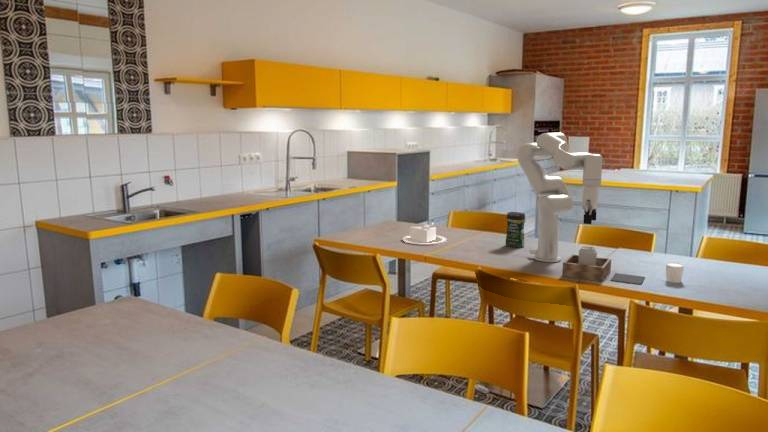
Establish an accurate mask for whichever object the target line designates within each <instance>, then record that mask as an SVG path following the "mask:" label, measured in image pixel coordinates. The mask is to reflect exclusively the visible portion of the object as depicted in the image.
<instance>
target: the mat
mask: <svg viewBox="0 0 768 432" xmlns="http://www.w3.org/2000/svg"><path fill="white" fill-rule="evenodd" d="M645 279H646V277H645V276H643V275H632V274H626V273H617V272H615V273H614V274H613V276H612V277H611V279H610V281H611V282H616V283H617V282H618V283H625V284H631V283H632V285H638V286H639V285H640V286H641V285H642V284H643V283H644V280H645Z"/></svg>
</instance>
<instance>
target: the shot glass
mask: <svg viewBox="0 0 768 432" xmlns="http://www.w3.org/2000/svg"><path fill="white" fill-rule="evenodd" d="M684 267H685V265H684V264H681V263H676V262H667V263H665V274H666V276H665V277H666V278H665V280H666V281H667V282H669V283H674V284H676V283H677V284H678V283H681V282H682V277H683V275H684V274H683V273H684Z"/></svg>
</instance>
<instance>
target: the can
mask: <svg viewBox="0 0 768 432" xmlns="http://www.w3.org/2000/svg"><path fill="white" fill-rule="evenodd" d="M597 254H598V252H597V250H596V247H594V246H585V245H584V246H580V249H579V250H578V255H579V260H578V264H583V265H591V266H596V258H597V257H598V256H597Z"/></svg>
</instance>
